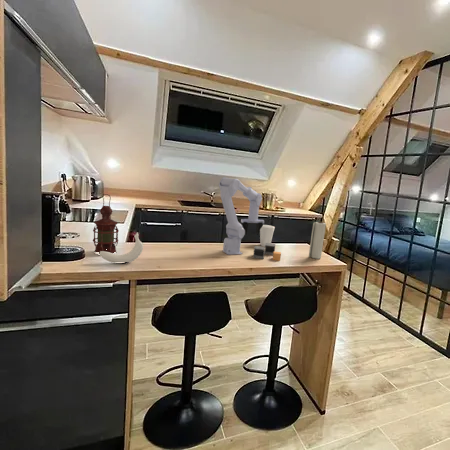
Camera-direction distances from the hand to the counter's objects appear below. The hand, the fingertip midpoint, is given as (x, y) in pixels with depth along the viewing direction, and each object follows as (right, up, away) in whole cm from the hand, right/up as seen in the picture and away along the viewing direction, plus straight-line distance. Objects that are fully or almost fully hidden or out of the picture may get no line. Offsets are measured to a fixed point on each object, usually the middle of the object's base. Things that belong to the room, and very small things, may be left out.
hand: (251, 234), depth 186 cm
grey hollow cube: (+3, -12, -14) cm, 19 cm away
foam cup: (+11, -8, +15) cm, 20 cm away
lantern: (-77, -9, -31) cm, 84 cm away
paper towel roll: (+38, -14, -4) cm, 40 cm away
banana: (-64, -12, -45) cm, 79 cm away
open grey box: (+10, -11, -4) cm, 16 cm away
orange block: (+13, -14, -15) cm, 24 cm away
